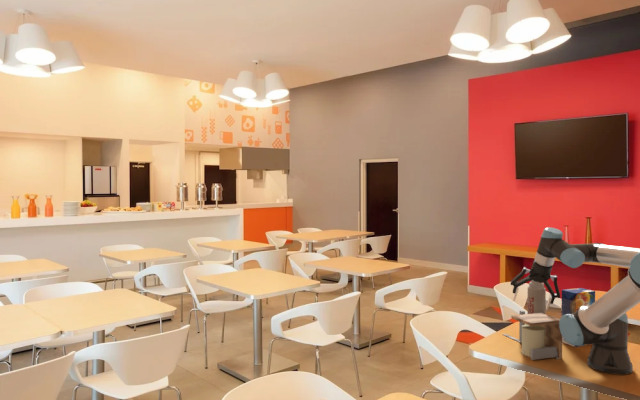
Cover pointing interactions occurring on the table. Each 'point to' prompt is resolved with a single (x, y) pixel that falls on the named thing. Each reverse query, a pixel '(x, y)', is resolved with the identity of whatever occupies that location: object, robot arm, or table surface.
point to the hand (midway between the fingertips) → (530, 304)
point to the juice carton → (576, 302)
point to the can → (532, 338)
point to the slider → (538, 352)
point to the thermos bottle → (536, 298)
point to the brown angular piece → (546, 321)
